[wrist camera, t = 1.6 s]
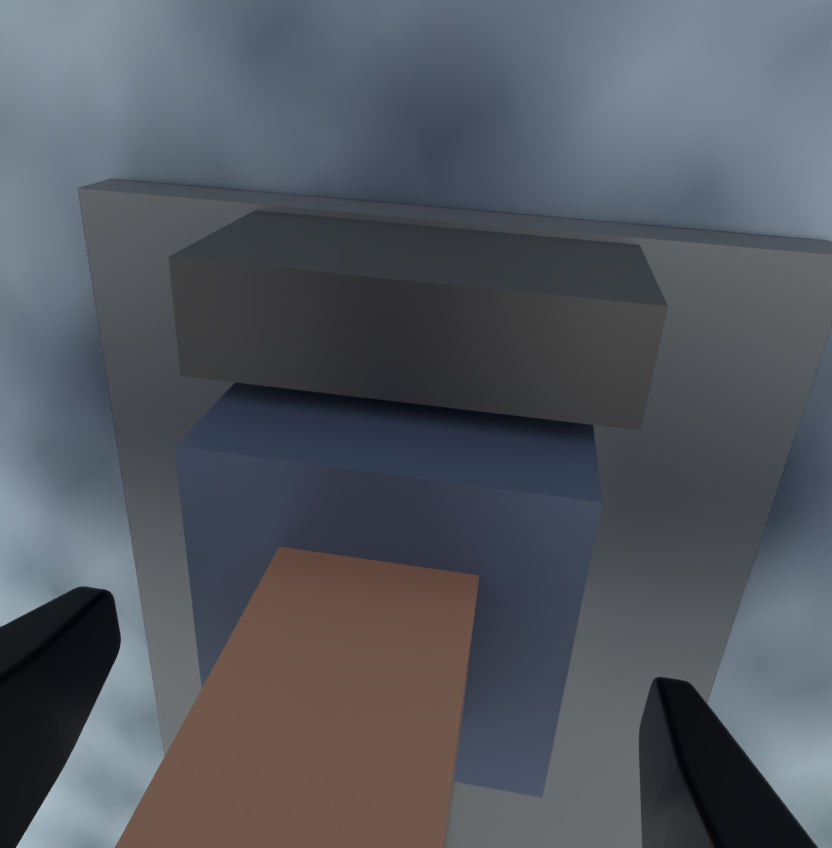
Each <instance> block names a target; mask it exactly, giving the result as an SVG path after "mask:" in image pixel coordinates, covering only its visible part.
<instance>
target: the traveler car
mask: <svg viewBox="0 0 832 848" xmlns="http://www.w3.org/2000/svg"><path fill="white" fill-rule="evenodd" d="M174 447H175V456H176V465H177V474H178V483H179V492H180V501H181V509H182V518H183V527H184V536H185V545H186V554H187V563H188V572H189V581H190V590H191V599H192V608H193V617H194V626H195V634H196V643H197V652H198V661H199V670H200V679H201V688H202V689H201V691H200V693H199V695H198V696H197V698H196V700H195V702H194V704H193V706H192V707H191V709H190V711H189V713H188V715H187V717H186V718H185V720H184V722H183V724H182V726H181V728H180V729H179V731H178V733H177V735H176V737H175V739H174V740H173V742H172V744H171V746H170V748H169V750H168V751H167V753H166V755H165V757H164V759H163V761H162V762H161V764H160V766H159V768H158V770H157V772H156V773H155V775H154V777H153V779H152V781H151V783H150V784H149V786H148V788H147V790H146V792H145V794H144V795H143V797H142V799H141V801H140V803H139V805H138V806H137V808H136V810H135V812H134V814H133V816H132V817H131V819H130V821H129V823H128V825H127V827H126V828H125V830H124V832H123V834H122V836H121V838H120V839H119V841H118V843H117V845H116V847H115V848H446V842H447V834H448V827H449V819H450V811H451V804H452V796H453V788H454V782H458V783H464V784H469V785H475V786H481V787H486V788H492V789H497V790H503V791H509V792H514V793H520V794H525V795H531V796H536V797H542V798H543V793H544V788H545V783H546V778H547V773H548V768H549V763H550V758H551V753H552V748H553V743H554V739H555V734H556V729H557V724H558V719H559V714H560V709H561V704H562V699H563V694H564V689H565V684H566V679H567V674H568V669H569V664H570V659H571V654H572V649H573V644H574V640H575V635H576V630H577V625H578V620H579V615H580V610H581V605H582V600H583V595H584V590H585V585H586V580H587V575H588V570H589V565H590V560H591V555H592V550H593V546H594V541H595V536H596V531H597V526H598V521H599V516H600V511H601V506H602V496H601V488H600V479H599V470H598V462H597V453H596V445H595V436H594V427H593V425H590V424H581V423H573V422H565V421H556V420H548V419H539V418H531V417H522V416H514V415H506V414H497V413H489V412H480V411H472V410H463V409H455V408H447V407H438V406H430V405H421V404H413V403H404V402H396V401H388V400H379V399H371V398H362V397H354V396H345V395H337V394H329V393H320V392H312V391H303V390H295V389H286V388H278V387H270V386H261V385H253V384H244V383H236V382H235V383H234V384H233V385H232V386H231V387H230V388H229V389H228V390H227V392H226V393H225V394H224V395H223V396H222V397H221V398H220V399H219V400H218V401H217V402H216V403H215V404H214V405H213V406H212V407H211V408H210V409H209V411H208V412H207V413H206V414H205V415H204V416H203V417H202V418H201V419H200V420H199V421H198V422H197V423H196V424H195V425H194V426H193V427H192V428H191V429H190V431H189V432H188V433H187V434H186V435H185V436H184V437H183V438H182V439H181V440H180V441H179V442H178V443H177V444H176V445H175V446H174Z"/></svg>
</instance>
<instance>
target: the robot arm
mask: <svg viewBox="0 0 832 848" xmlns="http://www.w3.org/2000/svg"><path fill="white" fill-rule="evenodd" d="M120 644H121V635H120V629H119V624H118V618H117V612H116V606H115V601H114V597H113V595H112V594H111V592H110V591H107V590H104V589H98V588H91V587H77V588H75V589H73V590H71V591H69V592H67V593H65V594H63V595H61V596H59V597H57V598H55V599H54V600H52V601H50V602H48V603H46V604H44V605H42V606H40V607H38V608H36V609H34V610H32V611H30V612H29V613H27V614H25V615H23V616H21V617H19V618H17V619H15V620H13V621H11V622H9V623H7V624H5V625H4V626H2V627H0V848H16V846H17V845H18V843H19V841H20V840H21V838H22V836H23V835H24V833H25V831H26V830H27V828H28V826H29V825H30V823H31V821H32V820H33V818H34V816H35V815H36V813H37V811H38V810H39V808H40V806H41V805H42V803H43V801H44V800H45V798H46V796H47V795H48V793H49V791H50V790H51V788H52V786H53V785H54V783H55V781H56V780H57V778H58V776H59V774H60V773H61V771H62V769H63V767H64V766H65V764H66V762H67V760H68V758H69V756H70V754H71V752H72V750H73V748H74V746H75V744H76V742H77V740H78V738H79V736H80V734H81V732H82V730H83V727H84V725H85V723H86V721H87V719H88V717H89V715H90V713H91V711H92V708H93V706H94V704H95V702H96V700H97V698H98V696H99V694H100V691H101V689H102V687H103V685H104V683H105V681H106V679H107V677H108V675H109V672H110V670H111V668H112V666H113V664H114V662H115V660H116V658H117V655H118V652H119V649H120ZM639 771H640V800H641V829H642V848H818V847H817V846H816V844H815V843H814V842H813V840H812V839H811V838H810V836H809V835H808V834H807V833H806V831H805V830H804V829H803V827H802V826H801V825H800V823H799V822H798V821H797V820H796V818H795V817H794V816H793V814H792V813H791V812H790V811H789V809H788V808H787V807H786V805H785V804H784V803H783V801H782V800H781V799H780V798H779V796H778V795H777V794H776V792H775V791H774V790H773V788H772V787H771V786H770V785H769V783H768V782H767V781H766V779H765V778H764V777H763V775H762V774H761V773H760V772H759V770H758V769H757V768H756V766H755V765H754V764H753V762H752V761H751V760H750V759H749V757H748V756H747V755H746V753H745V752H744V751H743V750H742V748H741V747H740V746H739V744H738V743H737V742H736V740H735V739H734V738H733V737H732V735H731V734H730V733H729V731H728V730H727V729H726V727H725V726H724V725H723V724H722V722H721V721H720V720H719V718H718V717H717V716H716V714H715V713H714V712H713V711H712V709H711V708H710V707H709V705H708V704H707V703H706V701H705V700H704V699H703V698H702V696H701V695H700V694H699V692H698V691H697V690H696V688H695V687H694V686H693V685H692V684H691V683H689V682H688V681H685V680H679V679H673V678H666V677H657V678H654V680H653V681H652V683H651V686H650V690H649V693H648V697H647V700H646V704H645V708H644V711H643V715H642V719H641V723H640V728H639Z"/></svg>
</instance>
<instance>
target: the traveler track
mask: <svg viewBox="0 0 832 848" xmlns="http://www.w3.org/2000/svg"><path fill="white" fill-rule="evenodd" d="M78 193H79V200H80V206H81V213H82V219H83V226H84V232H85V239H86V246H87V252H88V259H89V265H90V272H91V278H92V285H93V291H94V298H95V304H96V311H97V317H98V324H99V331H100V337H101V344H102V350H103V357H104V363H105V370H106V376H107V383H108V389H109V396H110V402H111V409H112V416H113V422H114V429H115V435H116V442H117V448H118V455H119V461H120V468H121V474H122V481H123V487H124V494H125V501H126V507H127V514H128V520H129V527H130V533H131V540H132V546H133V553H134V559H135V566H136V573H137V579H138V586H139V592H140V599H141V605H142V612H143V618H144V625H145V631H146V638H147V644H148V651H149V658H150V664H151V671H152V677H153V684H154V690H155V697H156V703H157V710H158V716H159V723H160V729H161V736H162V743H163V749H164V756H165V755H166V753H167V751H168V750H169V748H170V746H171V744H172V742H173V740H174V739H175V737H176V735H177V733H178V731H179V729H180V728H181V726H182V724H183V722H184V720H185V718H186V717H187V715H188V713H189V711H190V709H191V707H192V706H193V704H194V702H195V700H196V698H197V696H198V695H199V693H200V691H201V689H202V688H201V679H200V670H199V661H198V652H197V643H196V634H195V626H194V617H193V608H192V599H191V590H190V581H189V572H188V563H187V554H186V545H185V536H184V527H183V518H182V509H181V501H180V492H179V483H178V474H177V465H176V456H175V447H174V446H175V445H176V444H177V443H178V442H179V441H180V440H181V439H182V438H183V437H184V436H185V435H186V434H187V433H188V432H189V431H190V429H191V428H192V427H193V426H194V425H195V424H196V423H197V422H198V421H199V420H200V419H201V418H202V417H203V416H204V415H205V414H206V413H207V412H208V411H209V409H210V408H211V407H212V406H213V405H214V404H215V403H216V402H217V401H218V400H219V399H220V398H221V397H222V396H223V395H224V394H225V393H226V392H227V390H228V389H229V388H230V387H231V386H232V385H233V384H234V383H235V382H236V383H244V384H253V385H261V386H270V387H278V388H286V389H295V390H303V391H312V392H320V393H329V394H337V395H345V396H354V397H362V398H371V399H379V400H388V401H396V402H404V403H413V404H421V405H430V406H438V407H447V408H455V409H463V410H472V411H480V412H489V413H497V414H506V415H514V416H522V417H531V418H539V419H548V420H556V421H565V422H573V423H581V424H590V425H593V427H594V436H595V445H596V453H597V462H598V470H599V479H600V488H601V496H602V506H601V511H600V516H599V521H598V526H597V531H596V536H595V541H594V546H593V550H592V555H591V560H590V565H589V570H588V575H587V580H586V585H585V590H584V595H583V600H582V605H581V610H580V615H579V620H578V625H577V630H576V635H575V640H574V644H573V649H572V654H571V659H570V664H569V669H568V674H567V679H566V684H565V689H564V694H563V699H562V704H561V709H560V714H559V719H558V724H557V729H556V734H555V739H554V743H553V748H552V753H551V758H550V763H549V768H548V773H547V778H546V783H545V788H544V793H543V798H542V797H536V796H531V795H525V794H520V793H514V792H509V791H503V790H497V789H492V788H486V787H481V786H475V785H469V784H464V783H458V782H454V788H453V796H452V804H451V811H450V819H449V827H448V834H447V842H446V848H642V829H641V800H640V771H639V728H640V723H641V719H642V715H643V711H644V708H645V704H646V700H647V697H648V693H649V690H650V686H651V683H652V681H653V680H654V678H657V677H666V678H673V679H679V680H685V681H688V682H689V683H691V684H692V685H693V686H694V687H695V688H696V690H697V691H698V692H699V694H700V695H701V696H702V698H703V699H704V700H705V701H706V703H707V701H708V698H709V695H710V692H711V689H712V686H713V683H714V680H715V677H716V674H717V671H718V668H719V665H720V662H721V659H722V656H723V653H724V650H725V647H726V644H727V641H728V638H729V634H730V631H731V628H732V625H733V622H734V619H735V616H736V613H737V610H738V607H739V604H740V601H741V598H742V595H743V592H744V589H745V586H746V583H747V580H748V577H749V574H750V571H751V568H752V565H753V562H754V559H755V556H756V553H757V549H758V546H759V543H760V540H761V537H762V534H763V531H764V528H765V525H766V522H767V519H768V516H769V513H770V510H771V507H772V504H773V501H774V498H775V495H776V492H777V489H778V486H779V483H780V480H781V477H782V474H783V471H784V467H785V464H786V461H787V458H788V455H789V452H790V449H791V446H792V443H793V440H794V437H795V434H796V431H797V428H798V425H799V422H800V419H801V416H802V413H803V410H804V407H805V404H806V401H807V398H808V395H809V392H810V389H811V385H812V382H813V379H814V376H815V373H816V370H817V367H818V364H819V361H820V358H821V355H822V352H823V349H824V346H825V343H826V340H827V337H828V334H829V331H830V328H831V325H832V242H831V241H823V240H811V239H800V238H788V237H776V236H765V235H753V234H742V233H730V232H719V231H707V230H695V229H684V228H672V227H661V226H649V225H637V224H626V223H614V222H603V221H591V220H580V219H568V218H556V217H545V216H533V215H522V214H510V213H498V212H487V211H475V210H464V209H452V208H441V207H429V206H417V205H406V204H394V203H383V202H371V201H359V200H348V199H336V198H325V197H313V196H302V195H290V194H278V193H267V192H255V191H244V190H232V189H220V188H209V187H197V186H186V185H174V184H163V183H151V182H139V181H128V180H116V179H108V180H105V181H101V182H98V183H94V184H91V185H88V186H84V187H81V188H78Z"/></svg>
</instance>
